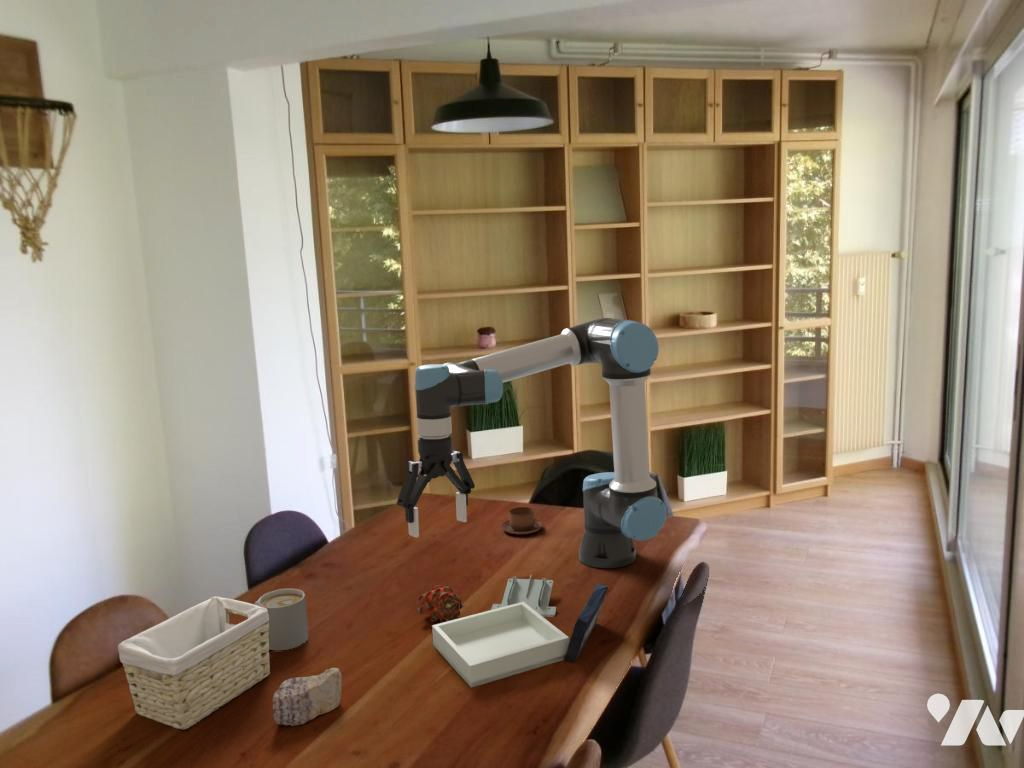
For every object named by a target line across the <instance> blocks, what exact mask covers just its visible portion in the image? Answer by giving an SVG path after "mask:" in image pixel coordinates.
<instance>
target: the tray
mask: <svg viewBox="0 0 1024 768" xmlns="http://www.w3.org/2000/svg"><path fill="white" fill-rule="evenodd" d="M431 628H432V629H431V630H432V631H431V632H432V633H431V634H432V642H433V643H432V646H433V647H434V648H435V649H436V650H437V651H438V652H439V654H441V656H442V657H443V658H444V659H445V660H446V661H447V662H448V663H449V665H450V666H451V667H452V668H453V669H454V670H455V671H456V673H457V674H458V675H459V676H460V677H461V679H463V680H464V682H466V683H467V685H468V686H469V687H470V688H475V687H478V686H479V687H480V686H482V685H485V684H488V683H491V682H495V681H497V680H501V679H505V678H509V677H512V676H514V675H518V674H521V673H525V672H529V671H532V670H535V669H537V668H541V667H544V666H548V665H551V664H554V663H559V662H561V661H565V660H564V657H565V655H566V652H567V648H568V645H569V642H570V637H569V636H568V635H566V634H565V633H564V632H563V631H561V630H560V629H559V628H557V626H555V625H554V624H552V623H551V622H550V621H549V620H547V619H546V618H545V616H541V615H540V614H538V613H537V612H536V611H535V610H533V609H532V608H531V607H530V606H528V605H527V604H526V603H525V602H520V603H517V604H513V605H509V606H505V607H501V608H497V609H493V610H491V609H490V610H485V611H482V612H478V613H475V614H471V615H467V616H463V617H458V618H454V619H451V620H450V621H447V622H440V623H436V624H433V625H431Z"/></svg>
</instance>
